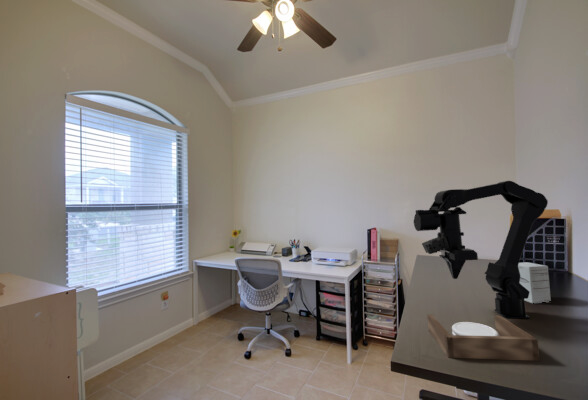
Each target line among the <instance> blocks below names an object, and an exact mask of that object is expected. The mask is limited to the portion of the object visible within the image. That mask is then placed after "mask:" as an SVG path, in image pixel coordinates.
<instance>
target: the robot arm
mask: <svg viewBox="0 0 588 400" xmlns="http://www.w3.org/2000/svg"><path fill="white" fill-rule="evenodd" d="M496 196H502V197H503V199H504V200H505V201H506V202H508V203H509V204H510V205H511V207H510V210H511V215H512V221H511V223H510V226H509V230H508V232H507V235H506V238H505V241H504V243H503V246H502V249H501V252H500V255H499V258H498V259H497V260H496V261H495V262H488V264H487V269H486V271H484V275H485V281H486V283H487V284H488V285H489V286H490V287H491V290H492V292H494V293H495V298H494V304H495V305H494V306H495V309H494V311H495V312H496V313H498V314H499V315H500V316H501V317H503V318H505V319H530V316H529V315H528V314H526V303H525V302H526V301H524V299H527V298H528V296H529V291H528V290H527V289H526V288H525V287H523V286H522V285H521V284H520V272H519V268H518V264H519V263H520V261H521V259H522V255H523V252H524V250H525V247H526V244H527V241H528V237H529V236H530V232H531V230H532V226H533V224H534V223H535V221H537V220H538V218H540V217H541V216H542V215H543V214H544V211H545V210H546V209H547V207H548V204H549V203H548V198H547V197H546V196H545V194H542V193H541V192H537V191H535V190H534V189H531V188H528V187H525V186H523V185H520V184H518V183H517V182H515V181H513V180H505V181H499V182H497V183H492V184H488V185H487V184H486V185H484V186H478V187H474V188H468V189H467V188H463V189H461V188H459V189H455V188H454V189H447V190H440V191H438V192H437V193H436V194H435V196H434V201H433V202H432V204H431V205H430V207H429V209H416V210H415V215H414V218H413V226H414V229H415V231H417V232H425V231H437V230H438V228H439V232H437V234H436V235H437V237H435V238H431V239H429V240H426V241H424V242H422V243H421V245H422V248H423V250H424V251H425V253H427V254H429V255H432V254H437V253H439V252H440V253H441V254H439V255H438V256H439V257H440V258H441V259H443V260H444V261H445V263H446V265H447V268H448V269H449V274H450V276H451V277H452V279H453V280H457V279H458V278H459V275H460V273H461V271H462V269H463V267H464V265H465V263H466V261H478V260H479V258H478V257H479V256H478V252H477V251H476V250H475V249H471V248H466V246H465V245H464V244H463V239H462V238H463V237H462V236H464V235H465V232H464V231H461V230H462V229H461V221H460V215H467V211H466V210H463V208H462V207H460V206H462V205H465V204H466V203H469V202H471V201H474V200H479V199H484V198H490V197H496ZM451 208H452V209H451ZM440 212H442V213H440Z"/></svg>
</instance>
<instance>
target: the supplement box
mask: <svg viewBox="0 0 588 400" xmlns="http://www.w3.org/2000/svg"><path fill="white" fill-rule="evenodd" d="M518 268H519V272H520V284H521V285H522V286H523V287H525V288H526V289H527V290H528V291H529V296H528V298H527V299H524V301H525V302H527V303H530V304H533V303H534V304H543V303H542V302H546V303H550V302H549V301H552V299H551V288H550V287H551V286H550V275H549V266H548V265H545V264H538V263H534V262H530V261H529V262H528V261H527V262H526V261H525V262H519V264H518Z"/></svg>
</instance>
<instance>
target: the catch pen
mask: <svg viewBox="0 0 588 400" xmlns="http://www.w3.org/2000/svg"><path fill="white" fill-rule="evenodd" d="M426 315H427V317H426V318H427V326H428V327H427V329H428V332H429V333H430V335H431V336H432V337H433V339H434V340H435V342H436V343H437V344H438V345H439V347H440V348H441V350H442V351H443V352H444V354H445V355H446V356H447V357H448V358H449V359H450V358H452V359H454V358H455V359H475V360H476V359H477V360H478V359H479V360H480V359H481V360H482V359H483V360H507V361H508V360H510V361H512V360H513V361H532V362H533V361H535V362H536V361H539V362H540V360H541V359H540V351H539V340H538V339H537V338H535V337H534V336H532V335H531V334H530V333H528V332H526V331H525V330H523V329H522V328H520V327H518V326H517V325H515V324H514V323H512V322H511V321H509V320H508V319H507V318H505V317H504V316H502V315H500V314H499V315H497V314H496V315H494V320H495V321H494V323H495V330H496V331H497V332H498V333H499V336H464V335H453V334H450V333H449V332H448V331H447V330H446V328H445V327H444V326H443V325H442V324H441V323H440V322H439V321H438V320H437V319H436V317H435V316H434V315H433V314H426Z"/></svg>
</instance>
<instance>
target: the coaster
mask: <svg viewBox="0 0 588 400" xmlns="http://www.w3.org/2000/svg"><path fill="white" fill-rule="evenodd" d="M451 330H452V331H451V333H452V334H451V335H464V336H500V335H499V333H498V332H497V331H496V328H495V329H494V328H493V327H490V326H489V325H486V324H482V323H478V322H471V321H461V322H455V323H453V325H452V326H451Z"/></svg>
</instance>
